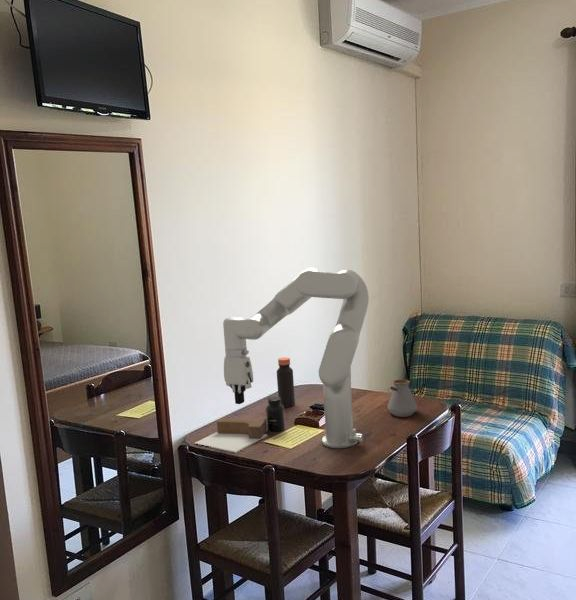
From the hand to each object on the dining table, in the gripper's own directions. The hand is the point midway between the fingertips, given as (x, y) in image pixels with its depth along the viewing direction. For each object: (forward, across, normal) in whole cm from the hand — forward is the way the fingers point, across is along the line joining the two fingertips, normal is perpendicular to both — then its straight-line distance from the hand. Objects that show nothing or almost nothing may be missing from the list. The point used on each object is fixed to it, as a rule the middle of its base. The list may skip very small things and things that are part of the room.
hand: (239, 402), depth 217 cm
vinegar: (+14, +9, -41) cm, 44 cm away
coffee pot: (+14, -40, -45) cm, 62 cm away
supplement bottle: (+14, -4, -15) cm, 21 cm away
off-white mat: (+14, +4, +1) cm, 15 cm away
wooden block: (+11, -4, -8) cm, 14 cm away
